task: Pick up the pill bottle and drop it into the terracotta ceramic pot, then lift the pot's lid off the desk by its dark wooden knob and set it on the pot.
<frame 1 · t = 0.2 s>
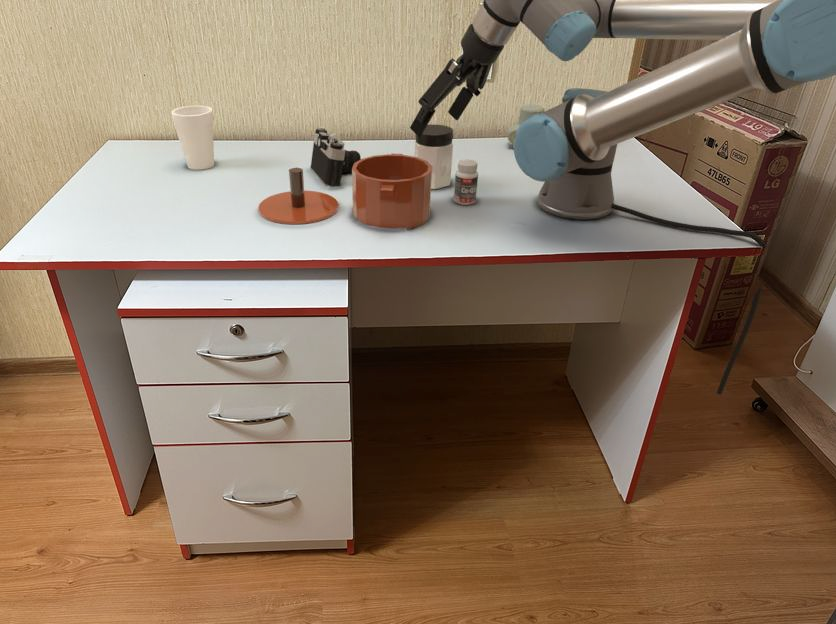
hand: (434, 123, 133), 15 cm above the table, tool tilted 30°, fingers open, 13 cm apart
foam cup: (201, 166, 156), on the table
lid: (298, 207, 132), point 1 cm above the table
pot: (391, 214, 131), on the table
air freshener: (527, 147, 166), on the table
camera: (339, 177, 150), on the table
jar: (431, 183, 146), on the table
pill bottle: (464, 201, 137), on the table
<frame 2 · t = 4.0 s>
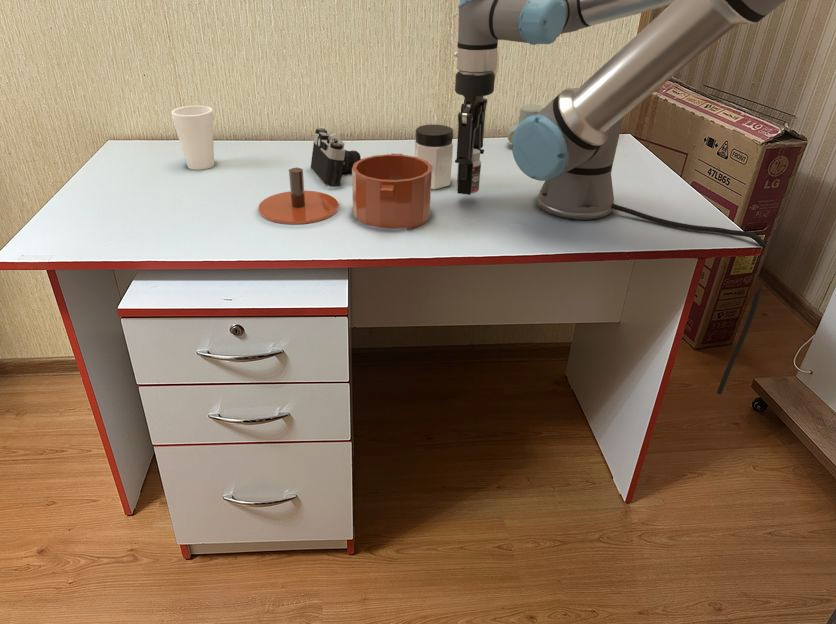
hand: (467, 188, 135), 3 cm above the table, tool pointing down, fingers closed on pill bottle, 5 cm apart
pill bottle: (467, 191, 135), point 2 cm above the table, touching gripper
everything else where it was.
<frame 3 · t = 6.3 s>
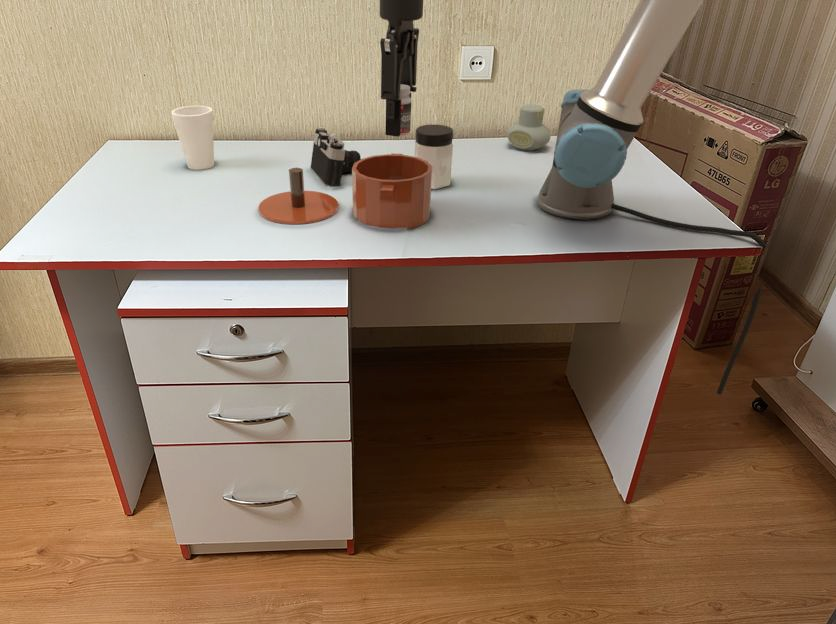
hand: (397, 131, 122), 17 cm above the table, tool pointing down, fingers closed on pill bottle, 5 cm apart
pill bottle: (397, 133, 122), point 16 cm above the table, touching gripper
everything else where it was.
when the fingers open (8 cm above the table, at t = 8.7 s): pill bottle drops 7 cm, resting on pot.
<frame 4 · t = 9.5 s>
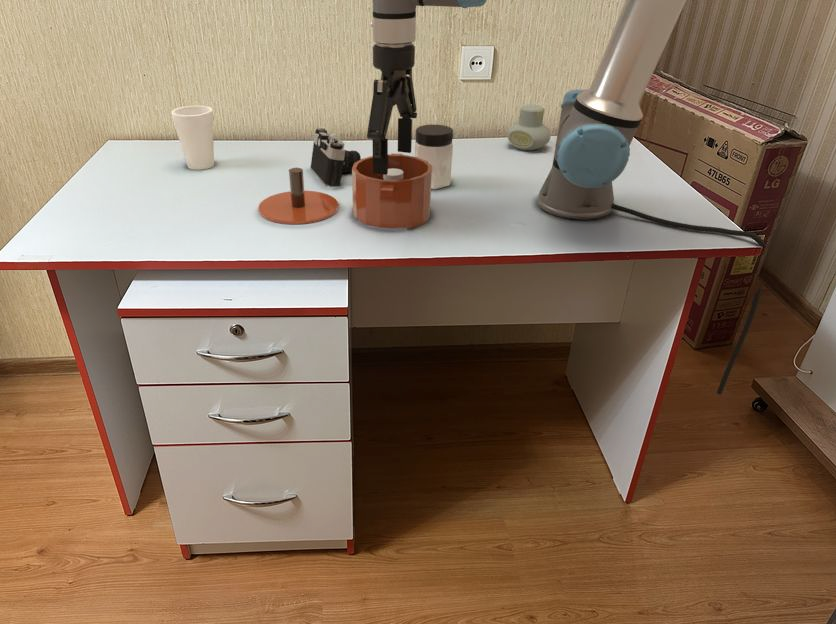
hand: (392, 162, 124), 11 cm above the table, tool pointing down, fingers open, 13 cm apart
pill bottle: (392, 212, 131), resting on pot
everything else where it was.
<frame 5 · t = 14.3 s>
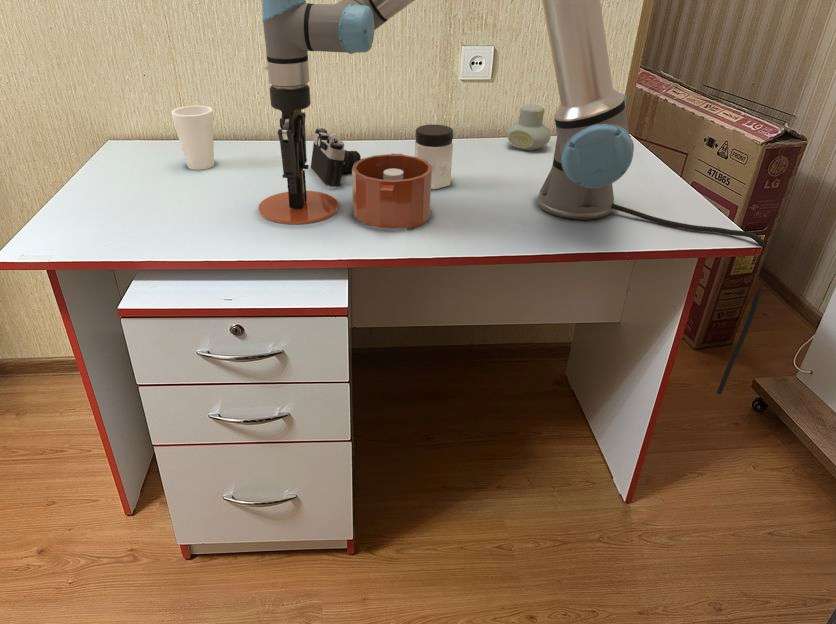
hand: (298, 203, 132), 1 cm above the table, tool pointing down, fingers closed on lid, 3 cm apart
lid: (298, 208, 132), point 1 cm above the table, touching gripper
everything else where it was.
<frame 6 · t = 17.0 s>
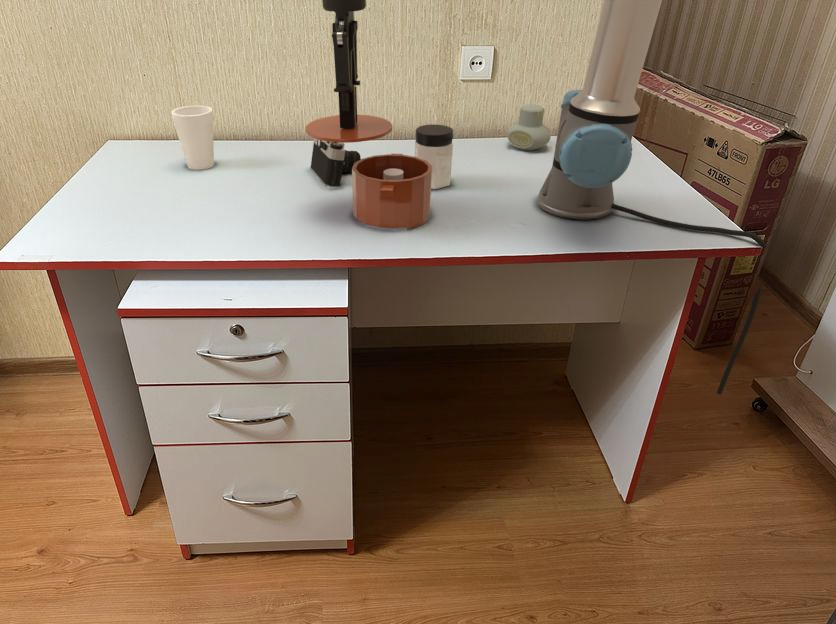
hand: (348, 124, 121), 18 cm above the table, tool pointing down, fingers closed on lid, 3 cm apart
lid: (348, 129, 122), point 17 cm above the table, touching gripper
everything else where it was.
when the fingers open (11 cm above the table, at t = 19.8 s): lid stays where it is, resting on pot.
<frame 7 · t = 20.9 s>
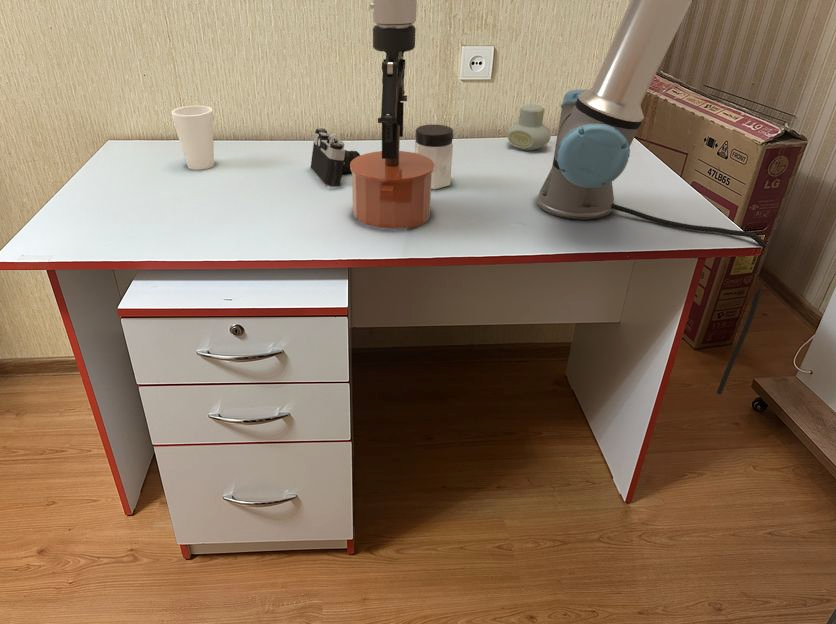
hand: (392, 146, 123), 14 cm above the table, tool pointing down, fingers open, 13 cm apart
lid: (392, 167, 125), point 10 cm above the table, touching pot
everything else where it was.
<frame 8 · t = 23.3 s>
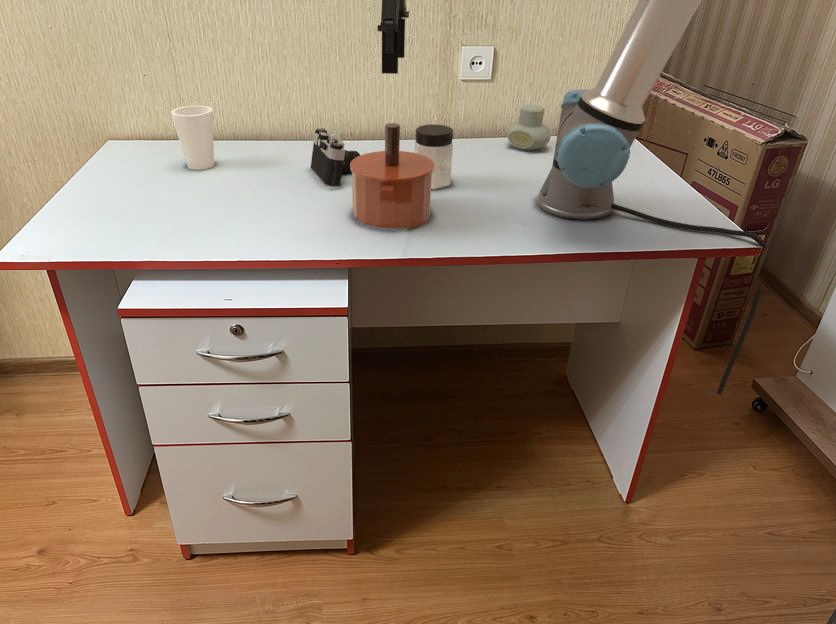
hand: (393, 65, 114), 29 cm above the table, tool pointing down, fingers open, 13 cm apart
nothing on the table moved.
at the end: pill bottle inside the target area in the pot (0.5 cm from its centre), point 0.3 cm above the pot's base; lid 0.0 cm off-centre on the pot, point 10.0 cm above the pot's base; lid tilted 0° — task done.
